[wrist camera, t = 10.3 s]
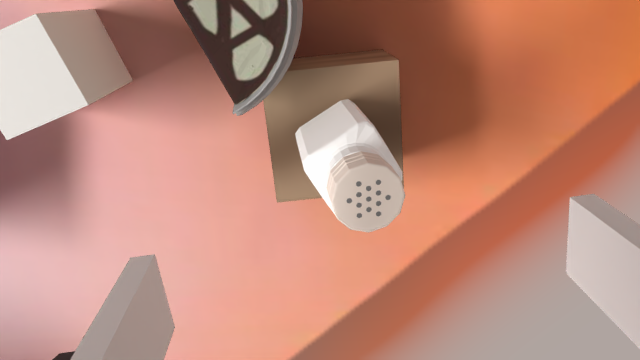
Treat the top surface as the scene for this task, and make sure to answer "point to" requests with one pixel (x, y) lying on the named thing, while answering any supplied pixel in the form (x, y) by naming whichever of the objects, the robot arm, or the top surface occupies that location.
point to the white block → (55, 68)
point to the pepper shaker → (351, 167)
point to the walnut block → (320, 94)
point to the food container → (246, 43)
